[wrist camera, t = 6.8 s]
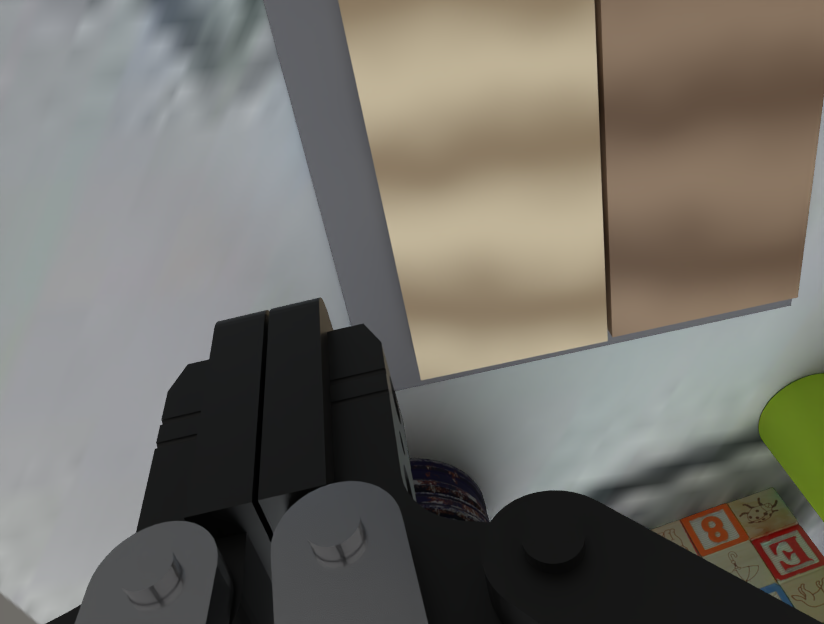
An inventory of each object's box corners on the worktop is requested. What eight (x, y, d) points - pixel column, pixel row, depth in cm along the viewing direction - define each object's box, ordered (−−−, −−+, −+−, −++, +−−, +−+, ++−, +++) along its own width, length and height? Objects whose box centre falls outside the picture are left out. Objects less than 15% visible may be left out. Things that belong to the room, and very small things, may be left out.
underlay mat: (205, -218, 24) (204, -219, 24) (864, -358, 24) (874, -361, 24) (369, 390, 39) (370, 396, 38) (785, 300, 39) (790, 305, 38)
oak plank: (303, -163, 25) (302, -163, 23) (567, -220, 25) (585, -223, 23) (416, 355, 37) (420, 380, 35) (594, 318, 37) (607, 341, 35)
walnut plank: (573, -221, 25) (593, -225, 23) (835, -277, 25) (873, -285, 23) (598, 314, 37) (612, 337, 35) (775, 276, 37) (797, 297, 36)
